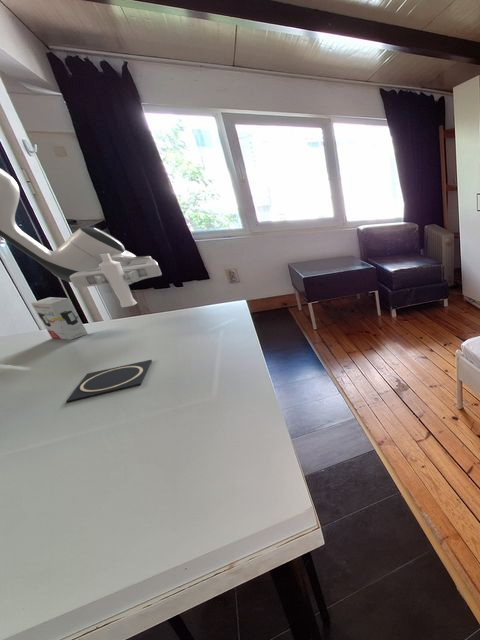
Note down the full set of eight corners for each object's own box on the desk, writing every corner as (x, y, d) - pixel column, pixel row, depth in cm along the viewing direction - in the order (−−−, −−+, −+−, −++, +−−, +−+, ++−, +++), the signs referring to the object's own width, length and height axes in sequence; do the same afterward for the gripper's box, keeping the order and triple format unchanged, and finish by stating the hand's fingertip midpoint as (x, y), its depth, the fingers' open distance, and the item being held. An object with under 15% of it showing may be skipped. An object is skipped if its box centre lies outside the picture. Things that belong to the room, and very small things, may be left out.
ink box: (51, 338, 113) (28, 302, 108) (69, 331, 117) (48, 297, 112) (71, 340, 111) (49, 303, 106) (89, 333, 115) (68, 298, 110)
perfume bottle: (125, 308, 106) (100, 256, 99) (115, 307, 107) (89, 255, 100) (142, 303, 109) (118, 252, 103) (132, 301, 111) (108, 252, 104)
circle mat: (67, 402, 80) (65, 400, 80) (87, 374, 91) (86, 373, 90) (140, 384, 85) (139, 382, 85) (152, 360, 96) (151, 358, 96)
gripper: (70, 266, 107) (59, 275, 97) (156, 255, 118) (155, 262, 108) (81, 286, 110) (72, 298, 100) (164, 274, 121) (163, 283, 110)
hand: (115, 279), depth 104 cm, fingers closed on perfume bottle, 4 cm apart
